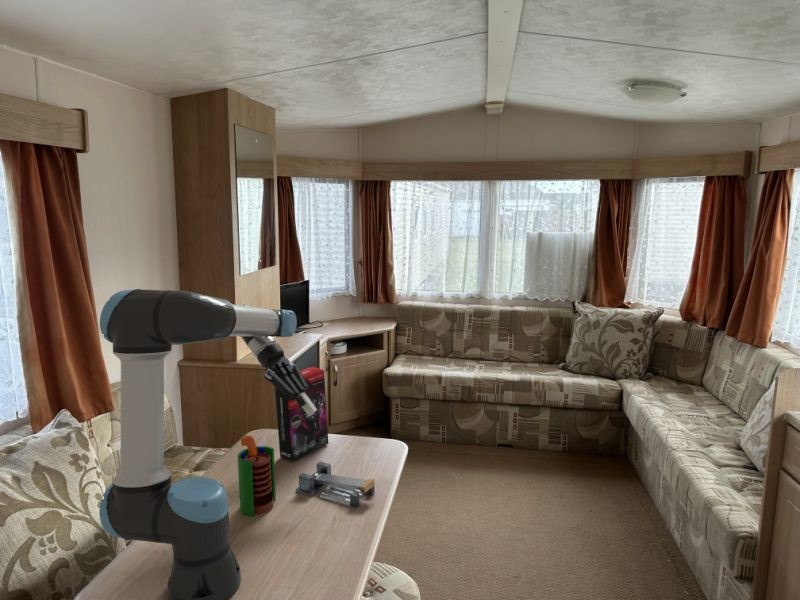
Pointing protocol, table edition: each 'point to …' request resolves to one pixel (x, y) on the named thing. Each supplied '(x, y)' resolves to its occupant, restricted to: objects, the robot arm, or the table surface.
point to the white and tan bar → (343, 481)
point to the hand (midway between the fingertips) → (313, 413)
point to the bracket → (334, 493)
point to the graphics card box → (303, 419)
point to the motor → (256, 478)
